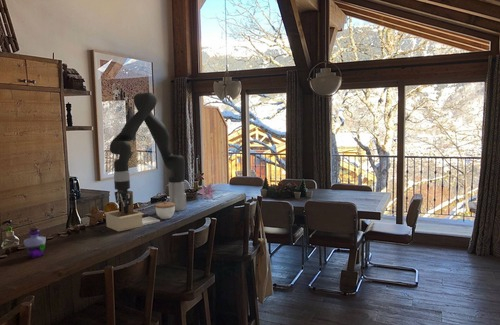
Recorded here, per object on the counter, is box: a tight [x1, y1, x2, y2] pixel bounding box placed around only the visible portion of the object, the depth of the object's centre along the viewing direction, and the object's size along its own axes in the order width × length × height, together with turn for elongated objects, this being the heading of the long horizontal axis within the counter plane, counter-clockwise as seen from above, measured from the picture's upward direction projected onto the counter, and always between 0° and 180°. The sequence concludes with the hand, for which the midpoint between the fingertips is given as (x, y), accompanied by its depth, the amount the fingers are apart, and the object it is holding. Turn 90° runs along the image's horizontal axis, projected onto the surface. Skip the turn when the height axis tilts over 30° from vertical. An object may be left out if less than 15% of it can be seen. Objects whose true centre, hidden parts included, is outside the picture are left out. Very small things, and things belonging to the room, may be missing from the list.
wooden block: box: [119, 190, 134, 217], centre depth 205 cm, size 9×4×18 cm, turn 150°
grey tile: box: [142, 216, 161, 226], centre depth 214 cm, size 10×11×1 cm
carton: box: [103, 209, 145, 232], centre depth 205 cm, size 13×18×7 cm
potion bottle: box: [23, 226, 47, 259], centre depth 162 cm, size 9×9×12 cm
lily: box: [196, 182, 217, 200], centre depth 276 cm, size 12×12×10 cm
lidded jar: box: [154, 200, 176, 220], centre depth 222 cm, size 11×11×9 cm
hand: (123, 212), depth 205 cm, fingers closed on wooden block, 4 cm apart
